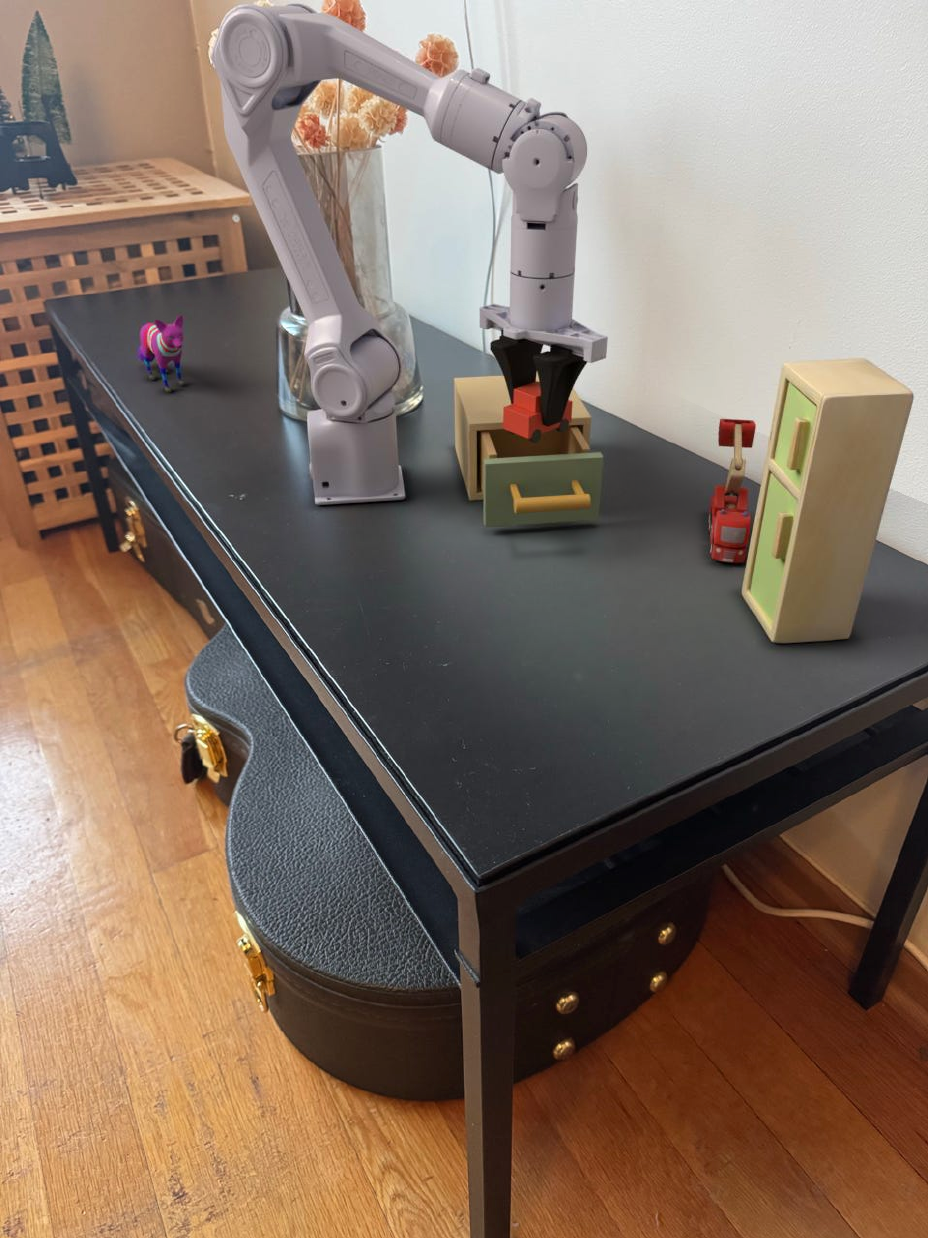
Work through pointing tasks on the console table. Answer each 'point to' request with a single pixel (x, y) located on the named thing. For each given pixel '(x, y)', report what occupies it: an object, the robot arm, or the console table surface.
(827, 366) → the toy refrigerator
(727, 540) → the toy fire truck
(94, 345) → the console table surface
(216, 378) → the console table surface
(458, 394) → the wooden drawer cabinet
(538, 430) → the toy car
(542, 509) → the cabinet drawer
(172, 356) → the toy dog
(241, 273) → the console table surface
